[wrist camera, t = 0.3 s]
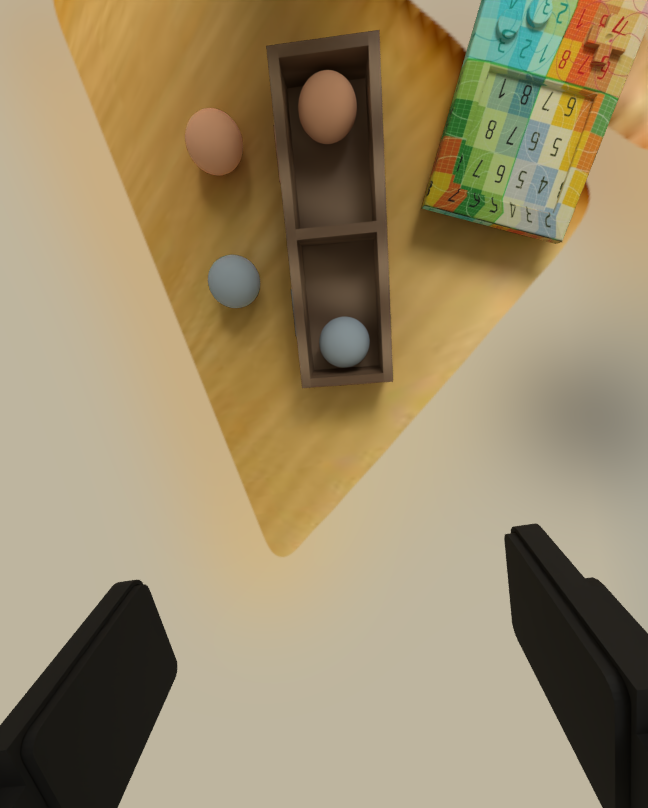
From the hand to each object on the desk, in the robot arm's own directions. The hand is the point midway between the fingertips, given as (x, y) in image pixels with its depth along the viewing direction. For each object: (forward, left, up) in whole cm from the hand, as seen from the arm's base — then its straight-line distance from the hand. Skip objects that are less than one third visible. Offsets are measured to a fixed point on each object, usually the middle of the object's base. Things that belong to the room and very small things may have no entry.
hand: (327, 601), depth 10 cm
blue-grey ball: (-4, +1, -29) cm, 30 cm away
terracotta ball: (-21, -9, -30) cm, 37 cm away
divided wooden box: (-13, +1, -30) cm, 32 cm away
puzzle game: (-22, +17, -31) cm, 41 cm away
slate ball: (-10, -9, -30) cm, 33 cm away
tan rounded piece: (-22, +1, -29) cm, 37 cm away
